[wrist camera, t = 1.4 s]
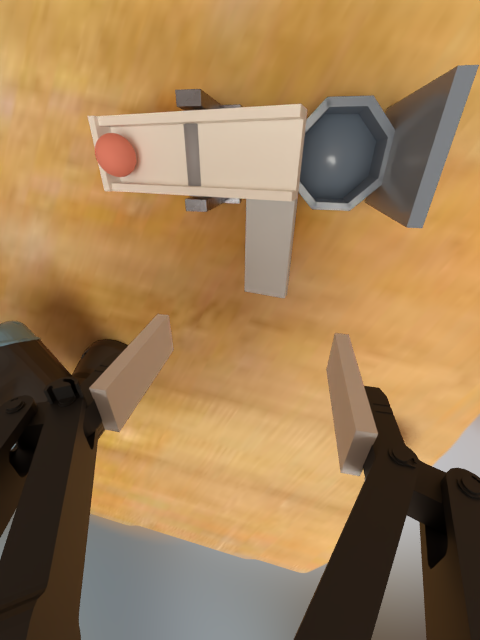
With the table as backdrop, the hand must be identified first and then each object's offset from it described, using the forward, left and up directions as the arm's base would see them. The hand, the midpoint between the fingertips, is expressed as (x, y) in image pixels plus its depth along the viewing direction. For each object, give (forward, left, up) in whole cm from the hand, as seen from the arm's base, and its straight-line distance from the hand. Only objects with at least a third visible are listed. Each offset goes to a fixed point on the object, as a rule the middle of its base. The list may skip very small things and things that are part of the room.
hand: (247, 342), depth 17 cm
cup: (+6, +10, -28) cm, 30 cm away
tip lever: (-8, +5, -19) cm, 21 cm away
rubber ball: (-17, +10, -17) cm, 26 cm away
